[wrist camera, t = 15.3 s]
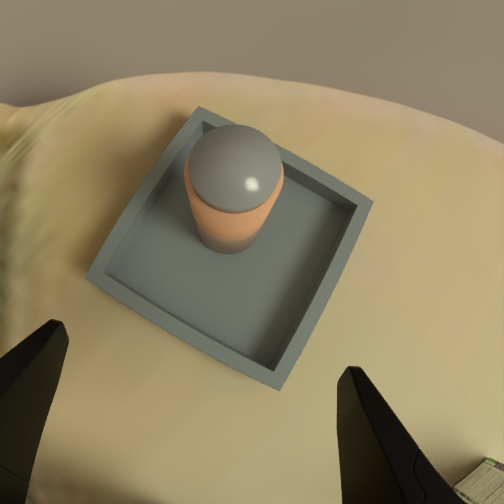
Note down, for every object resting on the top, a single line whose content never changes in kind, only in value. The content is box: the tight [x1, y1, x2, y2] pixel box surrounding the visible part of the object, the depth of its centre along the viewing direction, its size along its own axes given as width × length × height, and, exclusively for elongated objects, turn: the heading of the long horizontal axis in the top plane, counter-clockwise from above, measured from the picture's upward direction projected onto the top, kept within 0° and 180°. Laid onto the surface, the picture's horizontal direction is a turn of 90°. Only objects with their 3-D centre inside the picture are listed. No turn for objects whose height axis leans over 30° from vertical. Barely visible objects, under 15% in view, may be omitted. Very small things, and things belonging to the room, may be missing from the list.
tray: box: [85, 106, 373, 391], centre depth 22 cm, size 15×15×2 cm
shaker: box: [184, 124, 284, 255], centre depth 18 cm, size 4×4×10 cm
